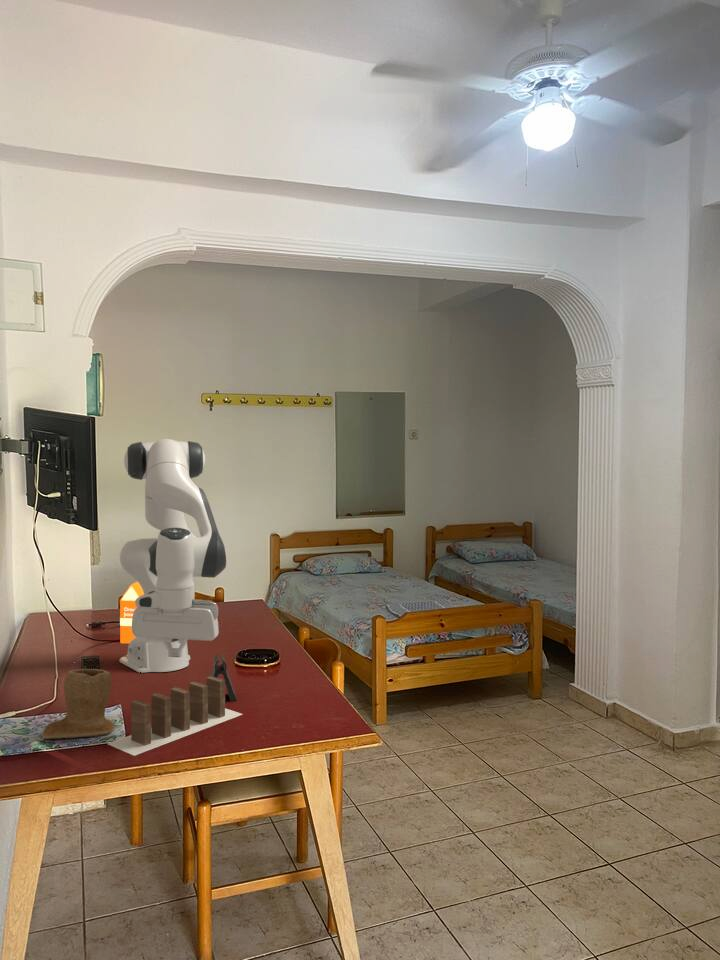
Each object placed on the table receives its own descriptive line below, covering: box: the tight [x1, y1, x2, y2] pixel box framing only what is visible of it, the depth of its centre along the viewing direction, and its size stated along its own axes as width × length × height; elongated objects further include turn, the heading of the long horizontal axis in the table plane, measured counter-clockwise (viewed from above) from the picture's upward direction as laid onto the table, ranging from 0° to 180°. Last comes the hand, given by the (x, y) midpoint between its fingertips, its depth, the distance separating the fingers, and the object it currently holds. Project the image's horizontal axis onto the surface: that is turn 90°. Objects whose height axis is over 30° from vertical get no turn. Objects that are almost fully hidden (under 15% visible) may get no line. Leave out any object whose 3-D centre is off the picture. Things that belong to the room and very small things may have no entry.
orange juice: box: [119, 581, 144, 644], centre depth 260 cm, size 8×9×20 cm
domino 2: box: [151, 692, 171, 738], centre depth 176 cm, size 2×5×9 cm, turn 52°
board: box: [107, 707, 243, 757], centre depth 180 cm, size 10×32×1 cm, turn 142°
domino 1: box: [130, 699, 152, 746], centre depth 171 cm, size 2×5×9 cm, turn 53°
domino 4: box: [188, 681, 208, 724], centre depth 184 cm, size 2×5×9 cm, turn 52°
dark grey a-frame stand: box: [209, 654, 238, 703], centre depth 200 cm, size 9×6×12 cm, turn 104°
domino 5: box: [206, 676, 226, 718], centre depth 189 cm, size 2×5×9 cm, turn 52°
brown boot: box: [42, 668, 115, 740], centre depth 178 cm, size 15×12×15 cm
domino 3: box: [170, 687, 190, 731], centre depth 180 cm, size 2×5×9 cm, turn 52°
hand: (175, 656), depth 179 cm, fingers closed
